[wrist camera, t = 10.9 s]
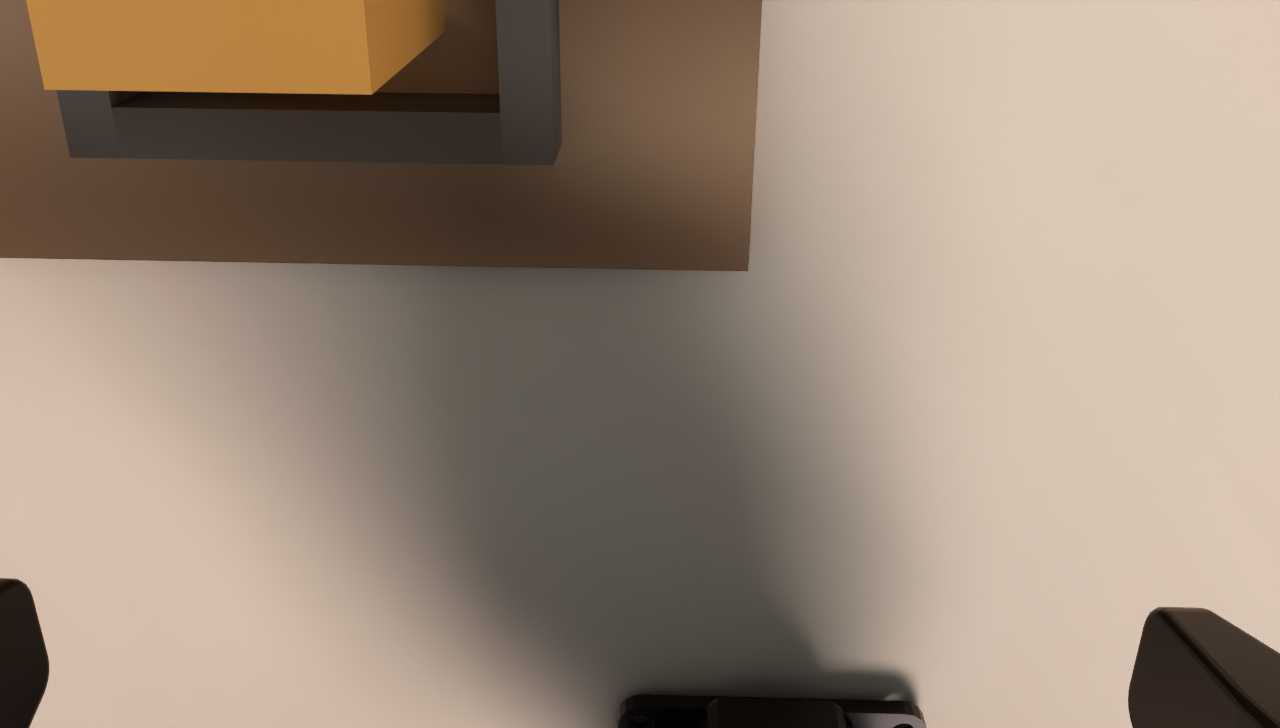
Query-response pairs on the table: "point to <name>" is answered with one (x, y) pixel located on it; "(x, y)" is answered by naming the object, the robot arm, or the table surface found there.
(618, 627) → the table surface
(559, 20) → the end holder
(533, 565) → the table surface
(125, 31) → the tan cardboard box
